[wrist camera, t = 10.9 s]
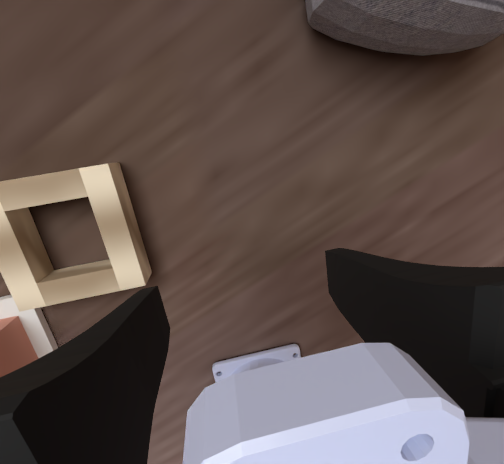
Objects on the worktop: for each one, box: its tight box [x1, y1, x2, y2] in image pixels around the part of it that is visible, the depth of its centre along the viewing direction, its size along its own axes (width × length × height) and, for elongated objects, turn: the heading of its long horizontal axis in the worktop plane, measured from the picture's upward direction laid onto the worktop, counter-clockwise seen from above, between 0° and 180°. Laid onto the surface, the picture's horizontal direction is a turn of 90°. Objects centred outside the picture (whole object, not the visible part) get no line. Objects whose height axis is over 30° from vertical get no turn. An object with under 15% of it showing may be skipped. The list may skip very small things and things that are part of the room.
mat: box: [0, 295, 58, 358], centre depth 21 cm, size 7×6×1 cm
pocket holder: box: [0, 162, 152, 312], centre depth 19 cm, size 8×8×2 cm
